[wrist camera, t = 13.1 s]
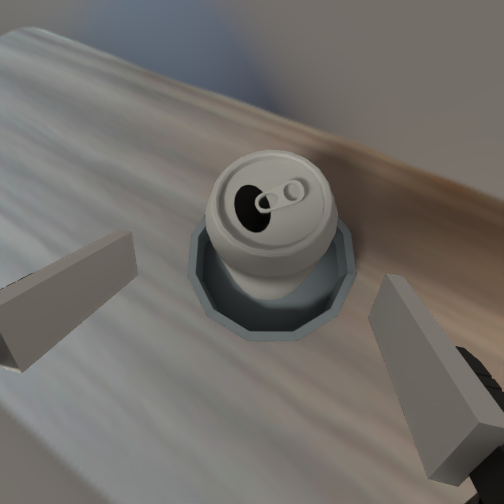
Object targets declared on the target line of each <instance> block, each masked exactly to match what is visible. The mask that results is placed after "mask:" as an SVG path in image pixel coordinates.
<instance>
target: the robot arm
mask: <svg viewBox="0 0 504 504" xmlns="http://www.w3.org/2000/svg"><path fill="white" fill-rule="evenodd" d="M137 275H138V271H137V264H136V258H135V251H134V244H133V238H132V232H130V231H124V230H117V231H115V232H113V233H111V234H109V235H107V236H105V237H103V238H101V239H99V240H97V241H96V242H94V243H92V244H90V245H88V246H86V247H84V248H82V249H80V250H78V251H76V252H74V253H72V254H70V255H68V256H66V257H64V258H62V259H60V260H58V261H56V262H54V263H52V264H50V265H48V266H46V267H44V268H42V269H41V270H39V271H37V272H34V273H31V274H29V275H27V276H25V277H23V278H21V279H20V280H18V281H17V282H14V283H12V284H10V285H8V286H6V287H5V288H2V289H0V364H1V366H2V367H3V369H7V370H11V371H15V372H19V373H23V372H24V371H25V370H26V369H28V368H29V367H30V366H31V365H32V364H33V363H35V362H36V361H37V360H38V359H39V358H41V357H42V356H43V355H44V354H45V353H46V352H48V351H49V350H50V349H51V348H52V347H53V346H55V345H56V344H57V343H58V342H59V341H61V340H62V339H63V338H64V337H65V336H66V335H68V334H69V333H70V332H71V331H72V330H74V329H75V328H76V327H77V326H78V325H79V324H81V323H82V322H83V321H84V320H85V319H87V318H88V317H89V316H90V315H91V314H92V313H94V312H95V311H96V310H97V309H98V308H100V307H101V306H102V305H103V304H104V303H105V302H107V301H108V300H109V299H110V298H111V297H113V296H114V295H115V294H116V293H117V292H118V291H120V290H121V289H122V288H123V287H124V286H126V285H127V284H128V283H129V282H130V281H131V280H133V279H134V278H135V277H136V276H137ZM368 319H369V322H370V324H371V327H372V330H373V332H374V335H375V338H376V340H377V343H378V346H379V349H380V351H381V354H382V357H383V359H384V362H385V365H386V367H387V370H388V373H389V375H390V378H391V381H392V384H393V386H394V389H395V392H396V394H397V397H398V400H399V402H400V405H401V408H402V410H403V413H404V416H405V418H406V421H407V424H408V427H409V429H410V432H411V435H412V437H413V440H414V443H415V445H416V448H417V451H418V453H419V456H420V459H421V462H422V464H423V467H424V470H425V472H426V475H427V478H428V479H431V480H435V481H438V482H442V483H446V484H450V485H454V486H459V485H460V484H461V483H462V482H463V481H464V480H465V479H466V478H468V477H469V476H470V478H471V480H472V482H473V484H474V486H475V488H476V490H477V492H478V493H476V494H475V495H474V496H473V497H472V498H471V499H469V500H468V501H467V502H466V503H465V504H504V392H502V388H501V387H500V386H499V384H498V383H497V382H496V381H495V379H492V376H491V374H490V373H489V372H488V371H487V369H486V368H485V367H484V366H483V364H482V363H481V362H480V361H479V360H478V359H477V358H475V357H474V356H473V355H472V354H471V353H469V352H468V351H467V350H466V349H465V348H463V347H457V346H454V344H453V343H452V342H451V340H450V339H449V338H448V336H447V335H446V334H445V332H444V331H443V329H442V328H441V327H440V325H439V324H438V323H437V321H436V320H435V319H434V317H433V316H432V315H431V313H430V312H429V310H428V309H427V308H426V306H425V305H424V304H423V302H422V301H421V300H420V298H419V297H418V295H417V294H416V293H415V291H414V290H413V289H412V287H411V286H410V285H409V283H408V282H407V281H406V279H405V278H404V276H400V275H394V274H388V273H386V274H385V277H384V279H383V282H382V284H381V287H380V289H379V292H378V294H377V297H376V299H375V302H374V304H373V307H372V309H371V312H370V314H369V317H368Z"/></svg>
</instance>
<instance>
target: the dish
mask: <svg viewBox="0 0 504 504" xmlns="http://www.w3.org/2000/svg"><path fill="white" fill-rule="evenodd" d="M356 275H357V273H356V266H355V258H354V251H353V244H352V237H351V231H350V230H349V229H348V227H347V226H346V225H345V224H344V222H343V221H342V220H341V219H340V217H339V216H338V218H337V227H336V233H335V235H334V237H333V239H332V241H331V243H330V245H329V247H328V249H327V251H326V252H325V254H324V255H323V256H322V258H321V259H320V260H319V262H318V263H317V264H316V266H315V267H314V268H313V270H312V271H311V273H310V274H309V275H308V277H307V278H306V279H305V281H304V282H303V283H302V284H301V285H300V286H299V287H298V288H297V289H296V290H295V291H294V292H293V293H291V294H289V295H287V296H285V297H283V298H280V299H272V300H266V299H261V298H256V297H253V296H252V295H250V294H248V293H246V292H245V291H243V290H242V289H241V287H240V286H239V285H238V284H237V283H236V282H235V280H234V279H233V277H232V276H231V274H230V272H229V271H228V269H227V268H226V266H225V265H224V263H223V261H222V260H221V258H220V257H219V255H218V253H217V252H216V250H215V249H214V247H213V244H212V242H211V240H210V237H209V235H208V233H207V230H206V214H205V215H204V217H203V218H202V220H201V221H200V223H199V224H198V225H197V227H196V228H195V230H194V231H193V233H192V234H191V241H190V252H189V263H188V273H187V276H188V278H189V280H190V282H191V284H192V286H193V288H194V290H195V293H196V295H197V297H198V299H199V301H200V303H201V305H202V307H203V309H204V311H205V313H206V315H207V316H208V317H210V318H212V319H213V320H215V321H216V322H218V323H220V324H221V325H223V326H224V327H226V328H227V329H229V330H231V331H232V332H234V333H235V334H237V335H239V336H240V337H242V338H243V339H245V340H247V341H298V340H299V339H301V338H302V337H304V336H306V335H307V334H309V333H310V332H312V331H314V330H315V329H317V328H318V327H320V326H322V325H323V324H325V323H326V322H328V321H330V320H331V319H333V318H334V317H336V316H337V315H338V314H339V311H340V309H341V307H342V305H343V303H344V301H345V298H346V296H347V294H348V292H349V290H350V288H351V285H352V283H353V281H354V279H355V277H356Z"/></svg>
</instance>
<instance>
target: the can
mask: <svg viewBox="0 0 504 504" xmlns="http://www.w3.org/2000/svg"><path fill="white" fill-rule="evenodd" d="M205 214H206V230H207V233H208V235H209V237H210V240H211V242H212V244H213V247H214V249H215V250H216V252H217V253H218V255H219V257H220V258H221V260H222V261H223V263H224V265H225V266H226V268H227V269H228V271H229V272H230V274H231V276H232V277H233V279H234V280H235V282H236V283H237V284H238V285H239V286H240V287H241V289H242V290H243V291H245V292H246V293H248V294H250V295H252V296H253V297H256V298H261V299H266V300H272V299H280V298H283V297H285V296H287V295H289V294H291V293H293V292H294V291H295V290H296V289H297V288H298V287H299V286H300V285H301V284H302V283H303V282H304V281H305V279H306V278H307V277H308V275H309V274H310V273H311V271H312V270H313V268H314V267H315V266H316V264H317V263H318V262H319V260H320V259H321V258H322V256H323V255H324V254H325V252H326V251H327V249H328V247H329V245H330V243H331V241H332V239H333V237H334V235H335V233H336V227H337V218H338V211H337V207H336V204H335V200H334V196H333V194H332V192H331V188H330V184H329V182H328V181H327V179H326V178H325V176H324V175H323V173H322V172H321V170H320V169H319V168H318V167H317V166H315V165H314V164H313V163H312V162H310V161H309V160H308V159H307V158H305V157H302V156H300V155H297V154H295V153H292V152H290V151H282V150H274V149H270V150H262V151H255V152H252V153H250V154H247V155H245V156H242V157H240V158H238V159H237V160H235V161H234V162H233V163H231V164H230V165H229V166H228V167H226V168H225V169H224V171H223V172H222V173H221V175H220V176H219V178H218V179H217V180H216V182H215V185H214V188H213V191H212V193H211V194H210V197H209V201H208V204H207V208H206V211H205Z"/></svg>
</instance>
